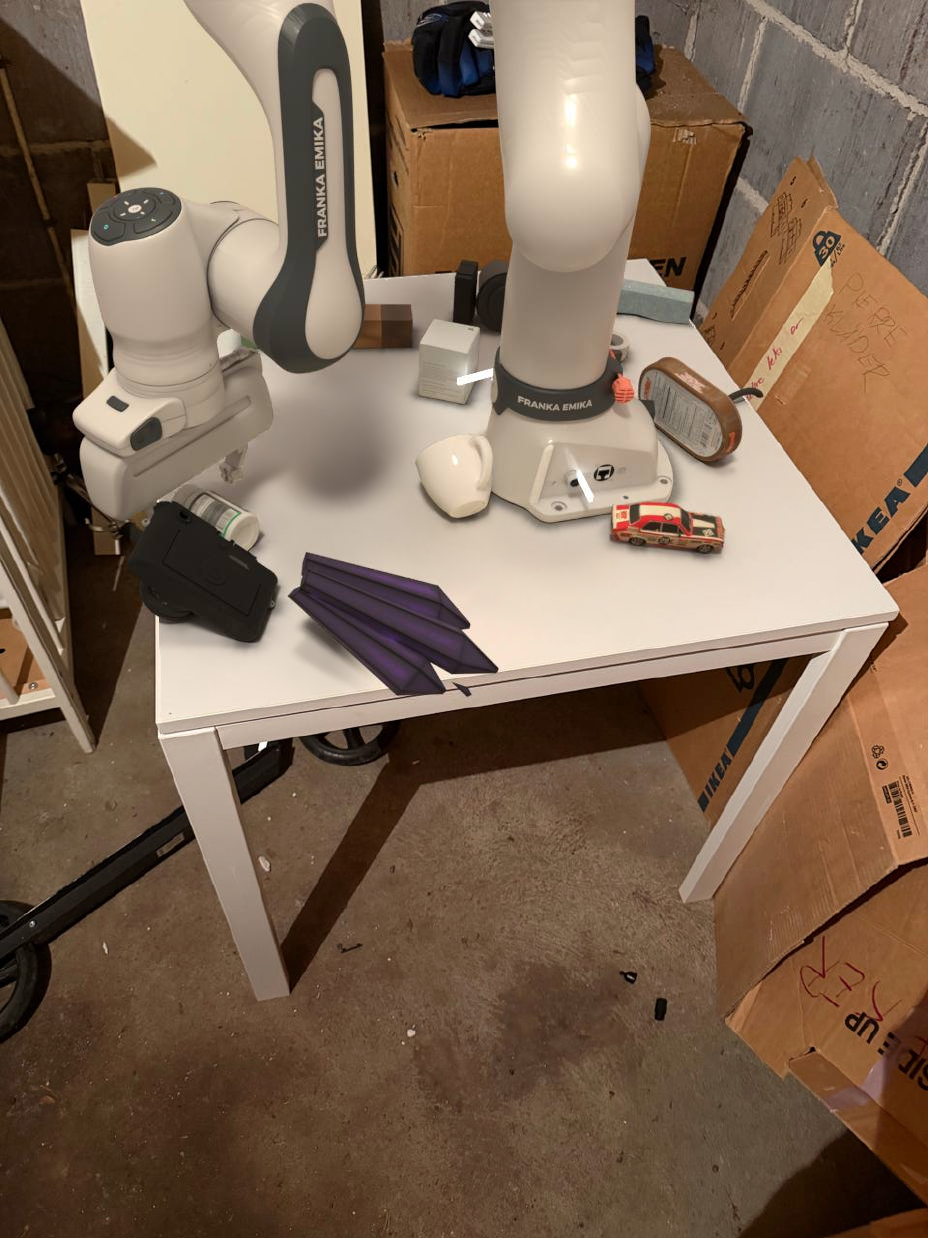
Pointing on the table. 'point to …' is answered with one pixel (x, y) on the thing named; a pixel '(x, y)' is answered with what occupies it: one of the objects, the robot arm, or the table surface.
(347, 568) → the crystal
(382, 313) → the block walnut
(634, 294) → the light blue foam bar
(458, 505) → the cup
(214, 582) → the camera
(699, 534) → the race car
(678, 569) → the table surface
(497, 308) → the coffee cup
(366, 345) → the block beech
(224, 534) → the pill bottle
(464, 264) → the ink cartridge
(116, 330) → the robot arm
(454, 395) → the product box
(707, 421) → the tin
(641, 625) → the table surface
